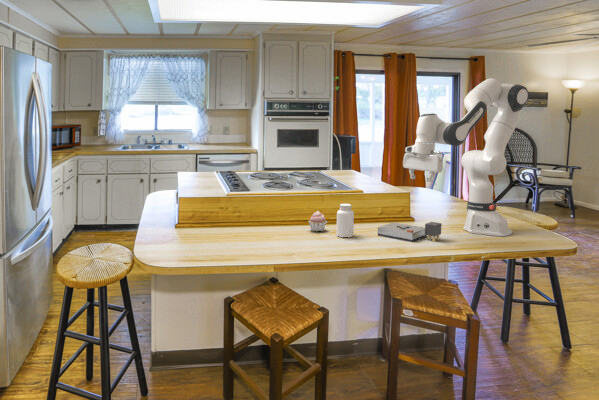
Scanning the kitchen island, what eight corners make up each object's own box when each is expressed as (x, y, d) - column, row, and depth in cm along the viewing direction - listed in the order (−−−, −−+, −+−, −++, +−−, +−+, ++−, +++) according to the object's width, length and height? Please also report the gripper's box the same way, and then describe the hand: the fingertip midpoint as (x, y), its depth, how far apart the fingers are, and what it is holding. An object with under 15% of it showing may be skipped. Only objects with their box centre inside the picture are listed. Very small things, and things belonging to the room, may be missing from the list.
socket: (426, 236, 227) (427, 226, 227) (411, 242, 217) (412, 232, 216) (393, 230, 239) (393, 221, 238) (377, 235, 229) (377, 225, 228)
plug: (440, 239, 222) (441, 223, 220) (434, 241, 217) (435, 225, 216) (430, 237, 225) (431, 221, 224) (424, 240, 221) (425, 223, 219)
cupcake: (322, 228, 244) (323, 208, 242) (329, 232, 235) (330, 212, 234) (305, 229, 241) (305, 209, 239) (311, 233, 232) (311, 213, 231)
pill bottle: (355, 234, 231) (355, 203, 228) (351, 238, 223) (351, 206, 220) (338, 233, 233) (339, 202, 230) (334, 237, 226) (334, 205, 223)
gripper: (447, 152, 211) (443, 183, 213) (411, 148, 228) (408, 177, 229) (438, 151, 208) (434, 183, 209) (402, 147, 224) (399, 177, 226)
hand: (420, 180), depth 220 cm, fingers open, 8 cm apart
